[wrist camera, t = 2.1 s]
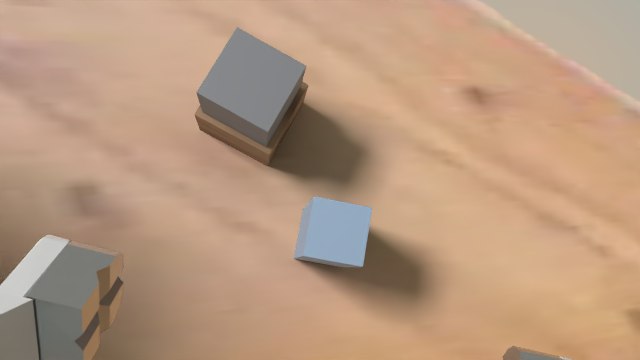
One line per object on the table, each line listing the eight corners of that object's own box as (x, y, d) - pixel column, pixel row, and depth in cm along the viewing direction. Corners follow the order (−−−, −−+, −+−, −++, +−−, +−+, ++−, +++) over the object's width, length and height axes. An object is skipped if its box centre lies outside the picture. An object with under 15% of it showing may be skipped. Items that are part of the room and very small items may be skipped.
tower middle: (266, 147, 45) (268, 132, 40) (202, 112, 45) (196, 92, 40) (300, 87, 46) (306, 65, 41) (238, 53, 46) (237, 27, 41)
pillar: (342, 267, 49) (362, 266, 40) (293, 258, 48) (303, 255, 40) (350, 218, 50) (372, 207, 41) (302, 209, 49) (314, 196, 40)
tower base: (267, 166, 50) (269, 154, 45) (200, 130, 49) (194, 114, 44) (302, 102, 51) (308, 85, 46) (237, 67, 51) (236, 45, 46)
